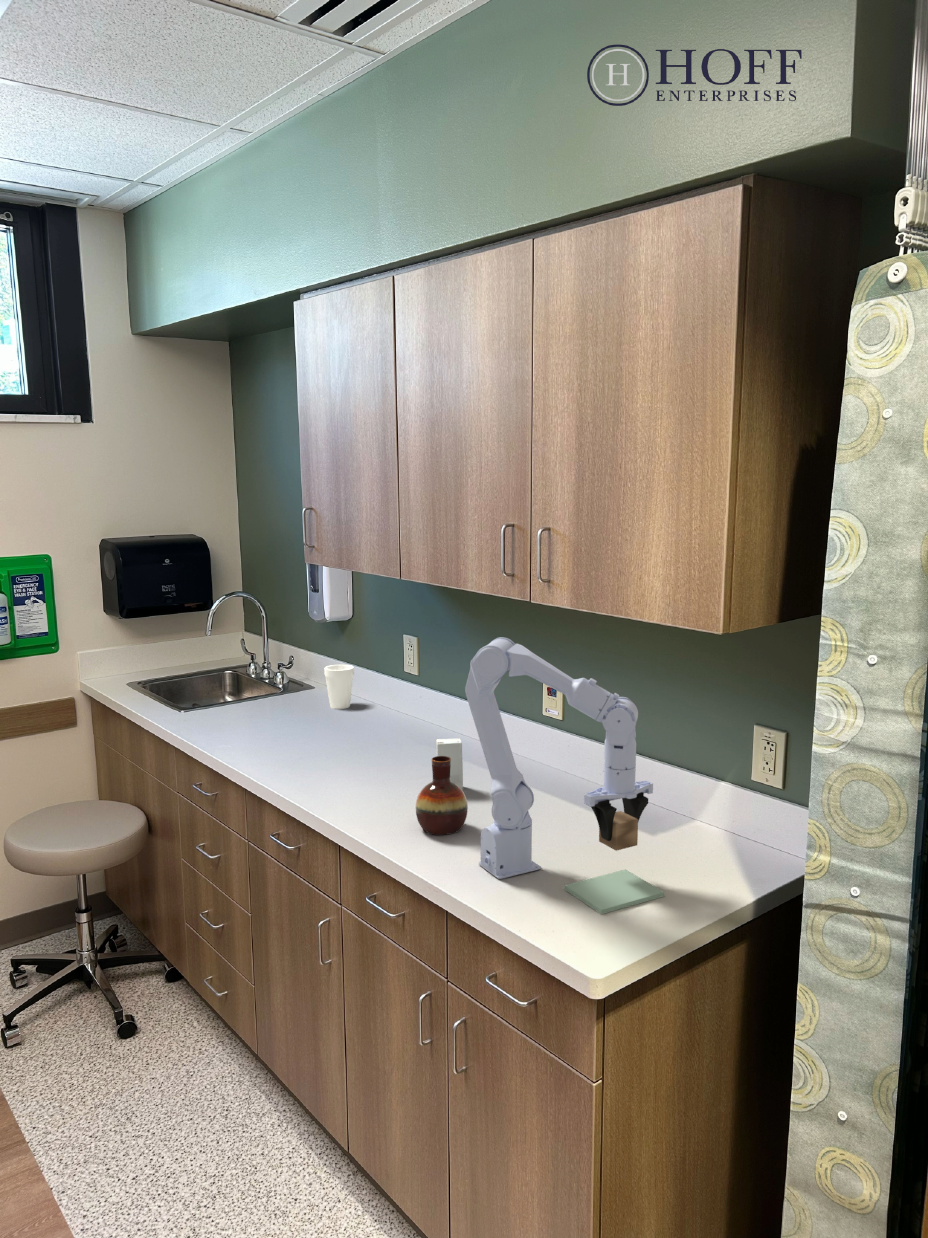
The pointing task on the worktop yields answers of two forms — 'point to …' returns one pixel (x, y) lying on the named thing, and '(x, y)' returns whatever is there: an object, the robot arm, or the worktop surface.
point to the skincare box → (452, 758)
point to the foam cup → (339, 685)
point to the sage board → (613, 891)
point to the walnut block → (622, 832)
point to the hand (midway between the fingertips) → (618, 836)
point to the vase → (441, 801)
